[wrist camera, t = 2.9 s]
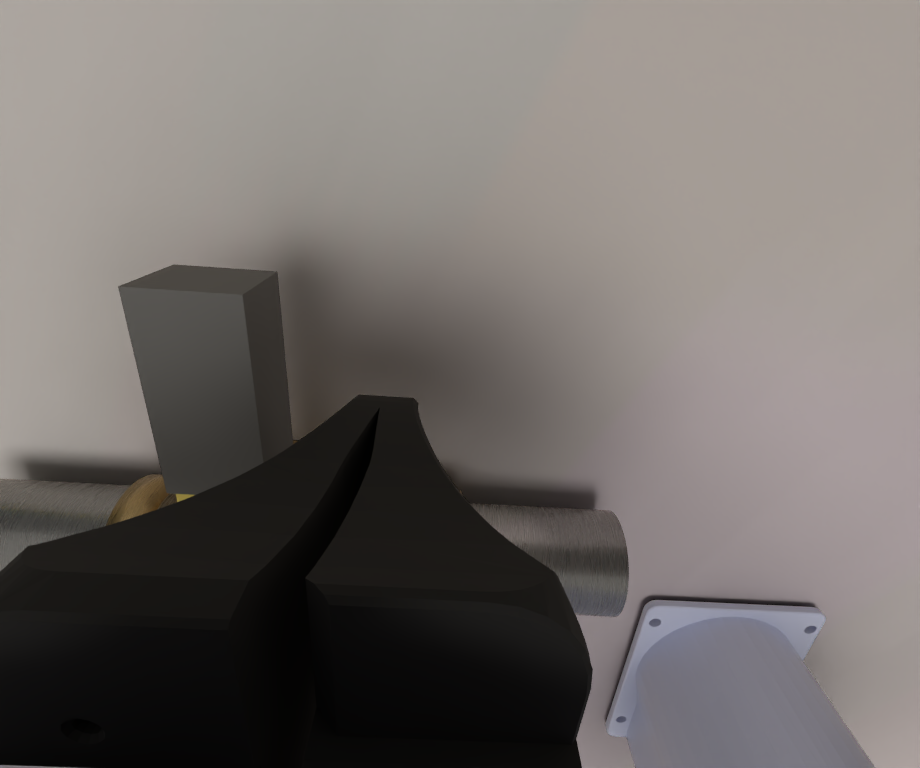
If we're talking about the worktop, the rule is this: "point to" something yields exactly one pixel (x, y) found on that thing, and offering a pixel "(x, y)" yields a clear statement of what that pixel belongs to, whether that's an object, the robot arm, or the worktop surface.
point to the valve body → (97, 505)
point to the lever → (210, 371)
